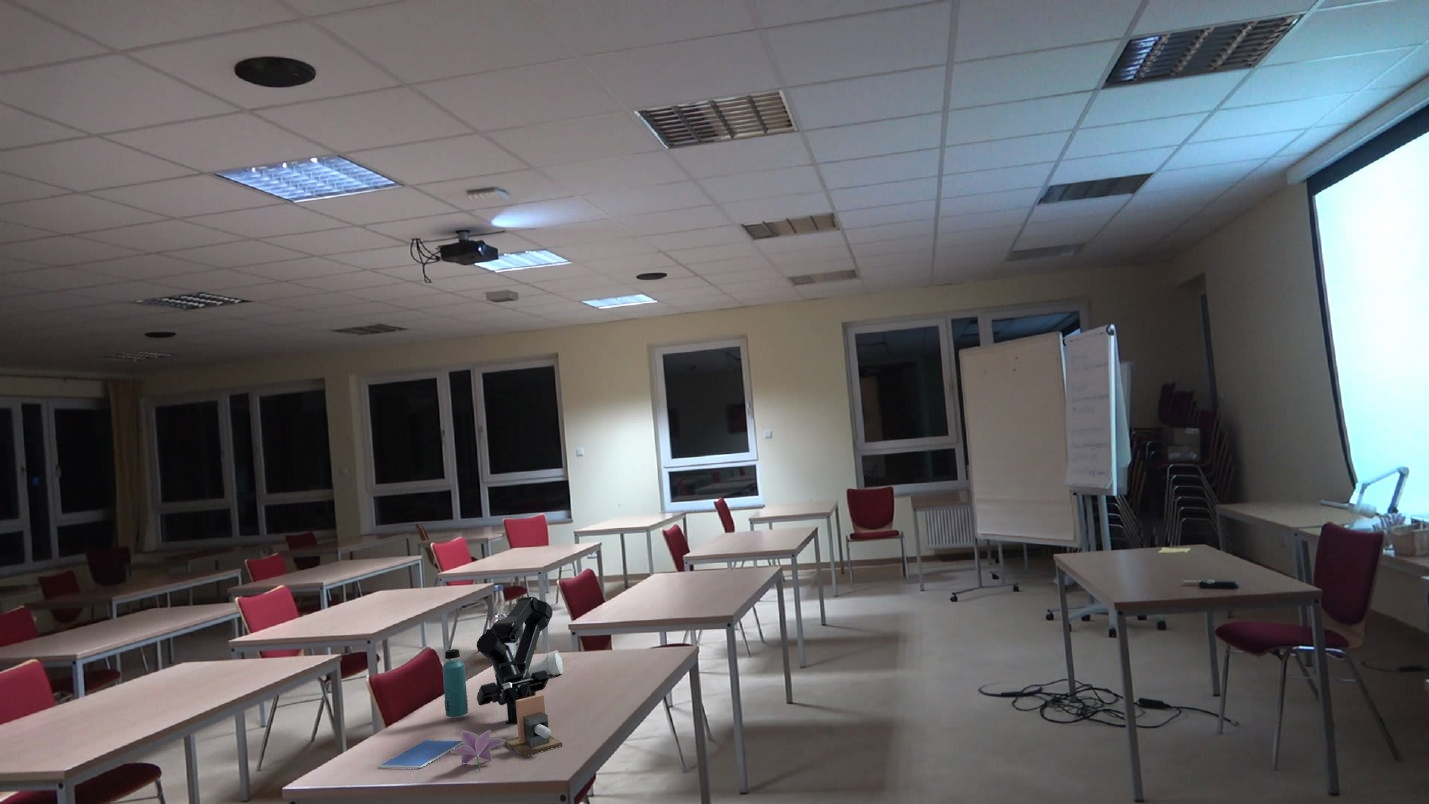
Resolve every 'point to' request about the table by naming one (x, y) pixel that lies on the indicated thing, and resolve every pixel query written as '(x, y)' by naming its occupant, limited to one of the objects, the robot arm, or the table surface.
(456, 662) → the beverage bottle
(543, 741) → the charcoal metal brick
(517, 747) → the tan board
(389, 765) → the tablet computer
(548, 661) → the spotlight
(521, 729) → the salmon pink upright block
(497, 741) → the lily
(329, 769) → the table surface
